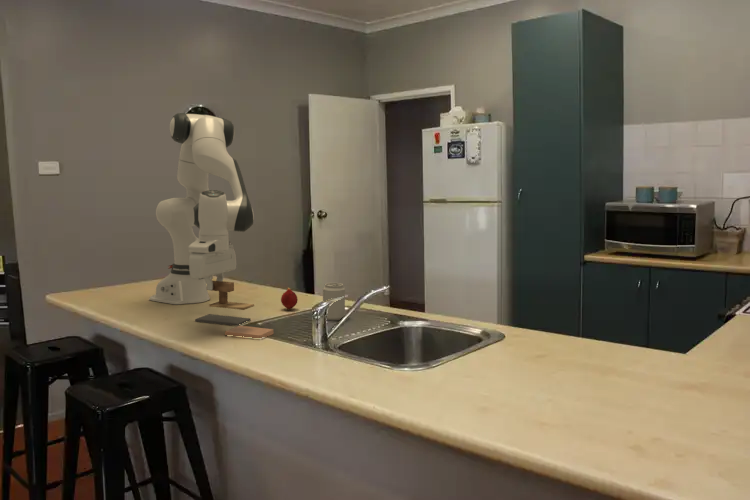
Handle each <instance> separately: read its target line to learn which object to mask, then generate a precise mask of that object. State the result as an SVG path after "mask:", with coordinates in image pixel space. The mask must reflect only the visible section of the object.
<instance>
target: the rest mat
mask: <svg viewBox="0 0 750 500" xmlns="http://www.w3.org/2000/svg"><path fill="white" fill-rule="evenodd" d="M249 320H250V321H251V318H250V317H241V316H231V315H220V314H212V313H209V314H205V315H202V316H200V317H197V318H195V319H194V322H195V323H196V322H197V323H204V324H214V323H216V324H215V325H223V324H226V325H225V326H232V325H239V324H241V325H243V324H242V323H244V322H246V321H249ZM250 321H249V322H250ZM246 323H247V322H246ZM244 324H245V323H244ZM239 326H240V325H239Z"/></svg>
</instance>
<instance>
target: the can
mask: <svg viewBox="0 0 750 500" xmlns="http://www.w3.org/2000/svg"><path fill="white" fill-rule="evenodd" d="M322 288H323V289H322V302H323V301H326V300H328V299H331V298H337V297H342V296H344V298H343V299H341V300H338V301H336V302H334V303H333V304H332V305H331V306H330V308H329V311H328V316H327V321H333V322H335V321H341V320H342V319H341V318H342V317H343V316H344V315H345V313H346V312H345V311H346V308H345V307H346V288H345V286H344V284H343V283H341V282H326V283H325V284H324V287H322ZM345 316H346V315H345ZM343 318H344V317H343ZM340 319H341V320H340Z"/></svg>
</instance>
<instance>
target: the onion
mask: <svg viewBox="0 0 750 500" xmlns="http://www.w3.org/2000/svg"><path fill="white" fill-rule="evenodd" d="M280 302H281V304H282V306H283V307H284V308H285V309H287V310H288V309H290V310H292V309H293V308H294V307H295V306H297V304H298V296H297V294H296V292H295V291H293V289H291V288H290V287H287V289H286V291H284V292H283V294H282V295H281V297H280Z"/></svg>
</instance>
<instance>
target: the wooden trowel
mask: <svg viewBox="0 0 750 500" xmlns="http://www.w3.org/2000/svg"><path fill="white" fill-rule="evenodd" d="M212 282H213V284H215V289H214V290H210V291H212V292H213V291H214V292H218V301H216V302H213V303H210V304H209V305H208V306H209V307H210V308H211V307H212V308H221V309H230V310H231V309H232V310H239V311H241V310H242V311H245V310H247V309H251V308H252V307H255V303H245V302H244V303H243V302H235V301H229V300H228V293H231V292H234V291H235V282H233V281H232V282H231V281H224V280H223V281H216V280H212Z"/></svg>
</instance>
